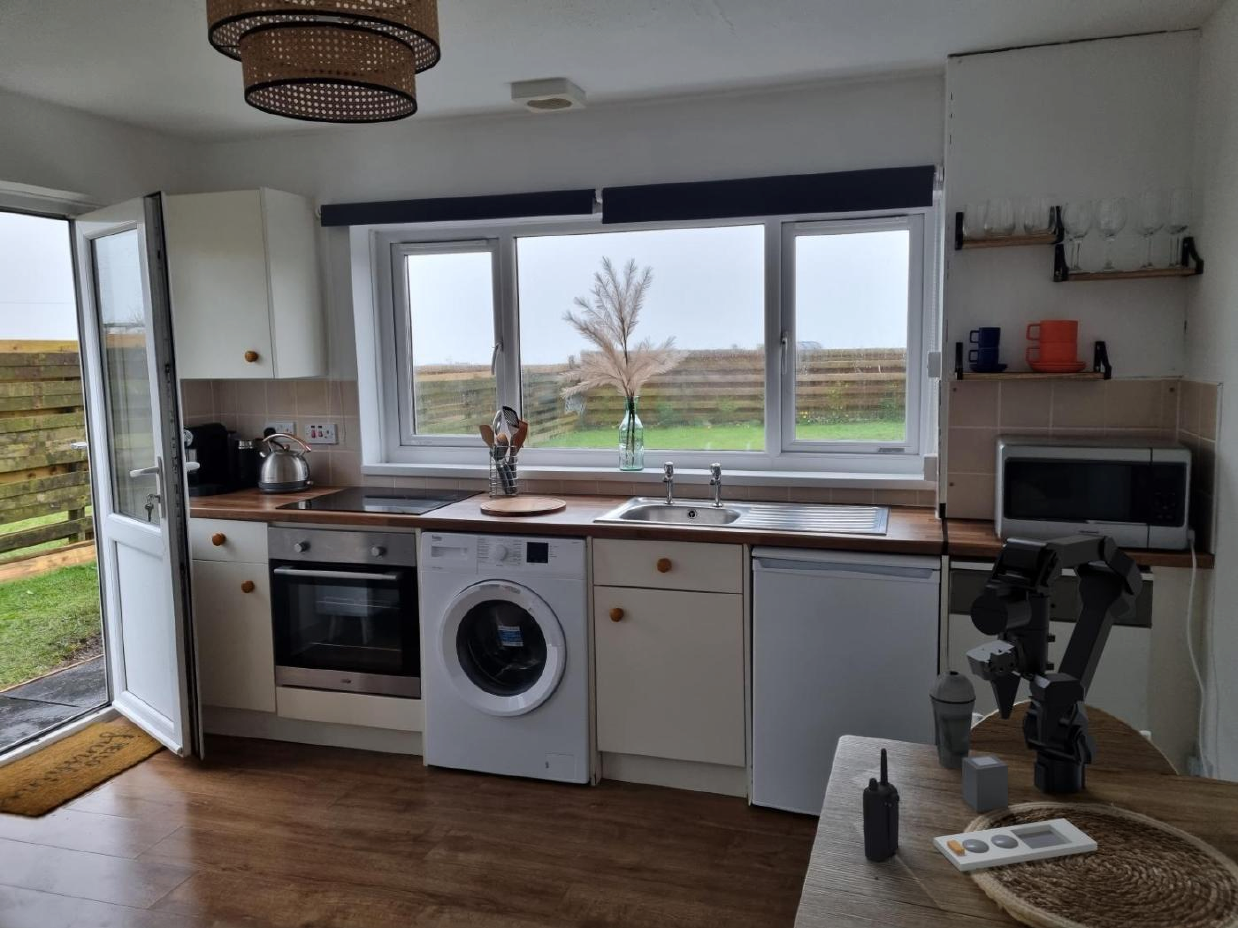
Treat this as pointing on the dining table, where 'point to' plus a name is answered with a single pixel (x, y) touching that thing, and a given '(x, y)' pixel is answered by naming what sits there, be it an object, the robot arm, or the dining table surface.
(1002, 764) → the block
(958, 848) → the power strip
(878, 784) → the two-way radio
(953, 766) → the beverage cup
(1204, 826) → the dining table surface
